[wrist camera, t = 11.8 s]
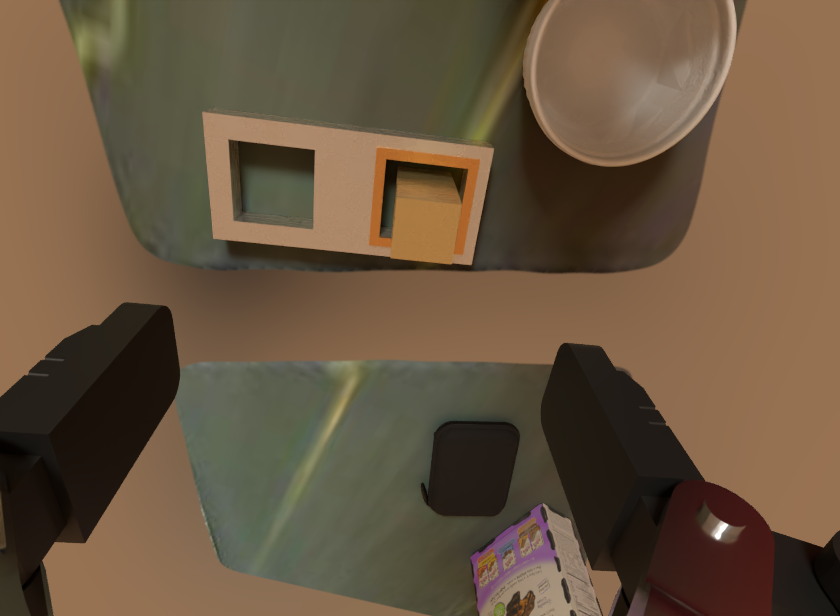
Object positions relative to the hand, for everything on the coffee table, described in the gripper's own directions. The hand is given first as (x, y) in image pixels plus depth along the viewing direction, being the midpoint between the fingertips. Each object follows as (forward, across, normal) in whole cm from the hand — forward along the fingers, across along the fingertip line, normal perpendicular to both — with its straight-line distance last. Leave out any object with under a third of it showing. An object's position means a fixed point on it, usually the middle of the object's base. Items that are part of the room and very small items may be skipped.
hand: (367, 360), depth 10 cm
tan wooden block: (+33, -3, +6) cm, 34 cm away
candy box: (+33, -22, +51) cm, 65 cm away
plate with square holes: (+33, +3, +6) cm, 34 cm away
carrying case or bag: (+34, -12, +38) cm, 52 cm away
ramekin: (+33, -15, -6) cm, 37 cm away
